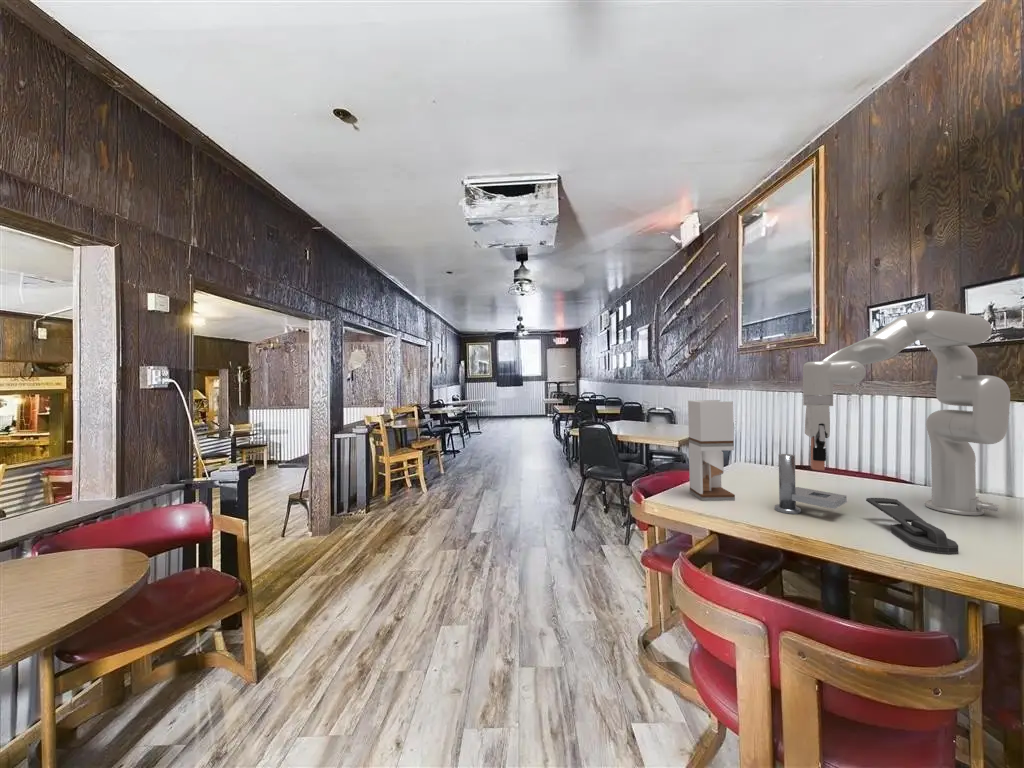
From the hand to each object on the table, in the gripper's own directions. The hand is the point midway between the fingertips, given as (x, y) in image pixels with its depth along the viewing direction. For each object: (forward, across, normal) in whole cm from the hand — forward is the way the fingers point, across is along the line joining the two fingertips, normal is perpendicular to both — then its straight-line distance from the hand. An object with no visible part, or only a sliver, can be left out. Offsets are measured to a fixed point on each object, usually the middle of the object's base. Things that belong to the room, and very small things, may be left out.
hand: (818, 458), depth 127 cm
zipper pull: (+18, +11, +18) cm, 27 cm away
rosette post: (+17, -1, -3) cm, 18 cm away
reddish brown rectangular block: (+3, 0, 0) cm, 3 cm away
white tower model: (+18, -9, -30) cm, 36 cm away
